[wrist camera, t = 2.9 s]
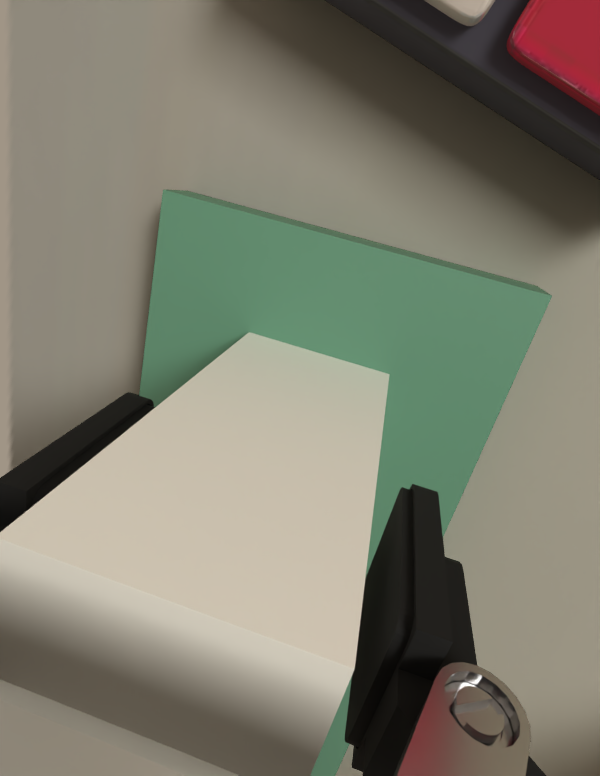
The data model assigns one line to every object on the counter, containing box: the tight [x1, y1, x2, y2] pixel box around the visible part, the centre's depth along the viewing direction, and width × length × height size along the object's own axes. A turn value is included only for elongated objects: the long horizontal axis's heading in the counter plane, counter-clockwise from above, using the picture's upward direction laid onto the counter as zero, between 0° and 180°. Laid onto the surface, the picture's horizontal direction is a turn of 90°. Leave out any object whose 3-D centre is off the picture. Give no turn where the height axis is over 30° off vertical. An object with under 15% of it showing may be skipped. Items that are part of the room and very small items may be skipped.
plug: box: [0, 332, 389, 776], centre depth 10 cm, size 6×4×9 cm
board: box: [139, 190, 552, 776], centre depth 16 cm, size 22×10×4 cm, turn 166°
